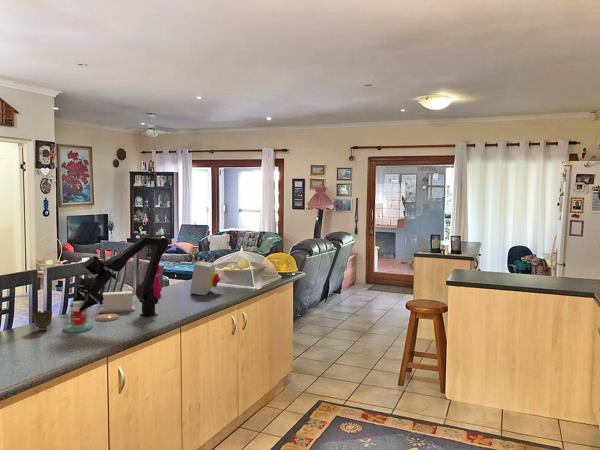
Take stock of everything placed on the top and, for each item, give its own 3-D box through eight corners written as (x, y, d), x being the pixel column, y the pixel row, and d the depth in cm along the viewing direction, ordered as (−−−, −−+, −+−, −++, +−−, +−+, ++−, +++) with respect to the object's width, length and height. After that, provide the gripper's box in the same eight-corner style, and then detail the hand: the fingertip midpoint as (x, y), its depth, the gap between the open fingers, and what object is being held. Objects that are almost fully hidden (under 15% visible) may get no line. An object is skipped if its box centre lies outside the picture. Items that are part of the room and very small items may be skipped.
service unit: (134, 310, 249) (134, 293, 249) (100, 313, 244) (100, 295, 243) (134, 307, 256) (134, 290, 255) (101, 309, 250) (101, 292, 250)
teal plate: (98, 328, 217) (98, 326, 217) (71, 334, 208) (71, 332, 208) (83, 323, 225) (83, 321, 224) (57, 329, 215) (57, 326, 215)
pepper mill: (158, 298, 278) (158, 263, 277) (146, 297, 280) (146, 263, 278) (164, 295, 285) (164, 261, 284) (152, 294, 287) (152, 261, 285)
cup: (32, 333, 208) (32, 315, 207) (33, 329, 214) (32, 311, 214) (52, 331, 211) (52, 313, 211) (52, 327, 218) (52, 309, 217)
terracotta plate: (122, 318, 235) (122, 316, 235) (103, 322, 227) (103, 320, 227) (110, 314, 241) (110, 312, 241) (91, 318, 233) (91, 316, 233)
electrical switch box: (214, 299, 288) (219, 266, 286) (189, 295, 288) (194, 262, 286) (218, 294, 302) (223, 262, 301) (195, 290, 302) (200, 258, 301)
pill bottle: (67, 327, 214) (67, 302, 213) (77, 323, 220) (77, 299, 219) (79, 329, 212) (78, 304, 212) (89, 325, 218) (89, 301, 217)
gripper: (78, 267, 224) (53, 294, 217) (96, 272, 211) (70, 301, 204) (95, 282, 230) (72, 309, 223) (114, 288, 217) (89, 317, 210)
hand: (75, 308), depth 215 cm, fingers open, 9 cm apart
